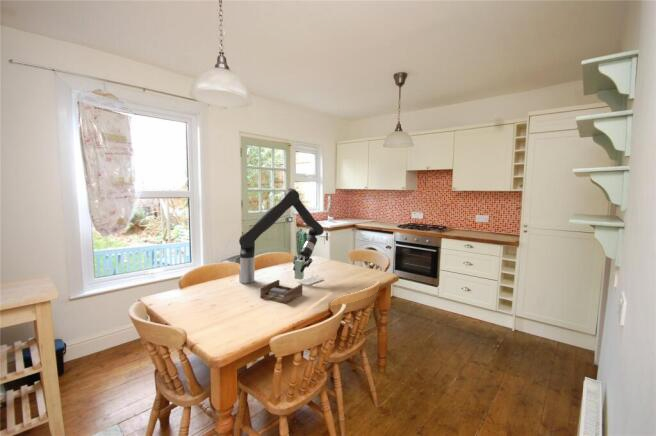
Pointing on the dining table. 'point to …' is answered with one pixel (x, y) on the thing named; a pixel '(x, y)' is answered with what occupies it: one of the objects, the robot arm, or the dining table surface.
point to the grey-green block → (297, 269)
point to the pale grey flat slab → (310, 280)
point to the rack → (288, 296)
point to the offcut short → (278, 291)
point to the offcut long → (276, 295)
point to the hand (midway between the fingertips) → (297, 270)
